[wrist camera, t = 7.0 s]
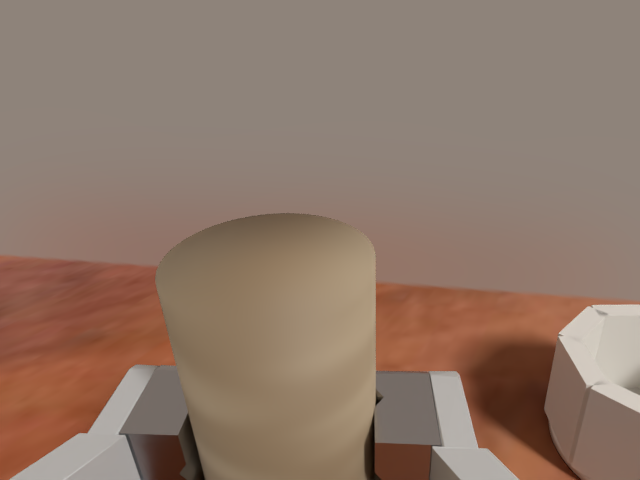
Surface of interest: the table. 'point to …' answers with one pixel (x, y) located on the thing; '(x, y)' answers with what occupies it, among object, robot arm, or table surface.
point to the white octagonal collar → (597, 393)
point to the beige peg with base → (276, 346)
